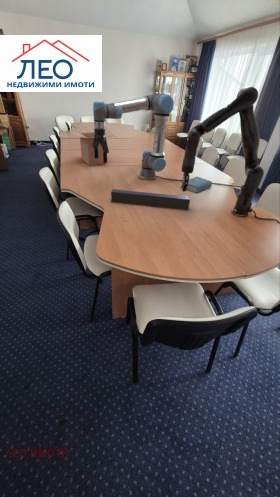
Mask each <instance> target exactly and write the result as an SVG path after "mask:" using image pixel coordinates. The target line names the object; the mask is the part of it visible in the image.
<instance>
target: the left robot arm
mask: <svg viewBox="0 0 280 497" xmlns="http://www.w3.org/2000/svg"><path fill="white" fill-rule="evenodd" d="M174 107H175V101H174V99H173V97H172V96H171V95H170V94H167V93H159V92H156V93H155V92H154V93H151V94H148V95H144V96H142V97H141V98H134V99H129V100H122V101H117V102H110V103H105V102H104V101H99V100H96V101H93V103H92V111H93V127H94V128H93V131H94V140H93V147H94V154H95V158H98V149H97V148H98V145H99V143H100V145H101V146H102V149H103V152H104V153H103V163H106V164H108V154H109V153H110V150H109V146H108V141H107V137H106V138H104V135H105V133H106V120H108V119H110V120H121V119H122V117H123V114H128V113H133V112H139V111H145V112H147V111H151V112H154V113H153V114H154V115H153V116H154V117H155V123H154V133H153V134H154V135H153V143H152V150H144V151H143V152H142V159H141V169H140V172H139V178H140V179H142V180H146V181H154V180H156V178H160V179H162V180H166V181H167V180H168V181H178V182H179V181H180V182H182V181H183V179H175V178H174V179H173V178H166V177H162V176H158V175H157V174H156V173H157V172H158V173H161V172H162V171H163V170H164V169H165V168H166V167H167V161H166V159H165V153H164V149H165V141H166V140H165V139H166V131H167V125H168V124H167V122H168V119H169V118H170V115H171V113H172V111H173V110H174ZM212 185H219V186H220V185H221V186H228V187H235V188H241V186H242V185H241V186H240V185H239V186H238V185H232V184H225V183H218V182H212Z"/></svg>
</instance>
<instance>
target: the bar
mask: <svg viewBox="0 0 280 497" xmlns="http://www.w3.org/2000/svg"><path fill="white" fill-rule="evenodd" d="M110 192H111V193H110V195H111V196H110V197H111V198H110V199H111V203H117V204H118V203H119V204H128V205H137V206H145V207H146V206H147V207H157V208H164V209H165V208H167V209H176V210H186V211H188V210H189V207H190V202H191V197H190V196H186V195H176V194H166V193H165V194H164V193H155V192H145V191H137V190H136V191H135V190H125V189H116V188H115V189H114V188H113V189H112V190H111V191H110Z"/></svg>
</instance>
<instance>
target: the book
mask: <svg viewBox="0 0 280 497" xmlns="http://www.w3.org/2000/svg"><path fill="white" fill-rule="evenodd" d="M182 183H183V181H181V184H182ZM212 183H213V182H212V180H209V179H206V178H202V177H199V176H195V177H191V178H189V182H188V186H187V188H186V191H190V192H192V193H195V194H197V193H200V192H201V191H203V190H206V189H209V188H211V187H212V185H213V184H212ZM186 184H187V183H186ZM180 188H181V189H183V187H182V185H181V186H180Z"/></svg>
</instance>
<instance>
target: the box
mask: <svg viewBox="0 0 280 497" xmlns="http://www.w3.org/2000/svg"><path fill="white" fill-rule="evenodd" d="M70 133H71V134H72V135H74V136H75V137H77V138H79V144H80V153H81V160H83V162H85V163H86V165H87V166H95V165H97V166H98V165H106V164H107V163H103V153H104V152H103V149H102V146H101V145H100V143H99V145H98V148H97V149H98V158H95V154H94V147H93V140H94V129H93V130H92V129H91V130H77V132H76V131H70ZM113 137H114V136H113V135H111V134H109V133H108V132H105V135H104V138H106V139H107V138H113Z"/></svg>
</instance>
